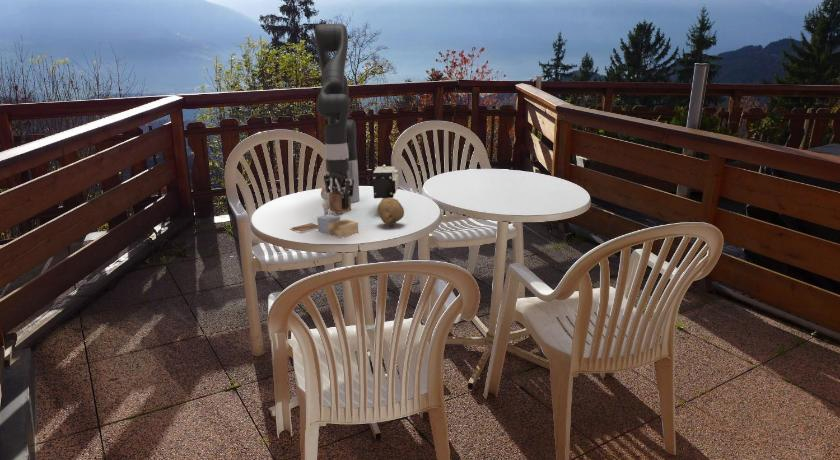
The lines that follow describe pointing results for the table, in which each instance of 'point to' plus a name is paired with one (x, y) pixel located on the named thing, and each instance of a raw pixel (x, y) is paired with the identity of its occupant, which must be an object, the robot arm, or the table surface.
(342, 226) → the oak base
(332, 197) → the walnut cube
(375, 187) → the black and cream box
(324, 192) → the toy
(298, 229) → the tile
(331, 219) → the bluegrey block
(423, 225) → the table surface
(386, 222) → the natural sponge
